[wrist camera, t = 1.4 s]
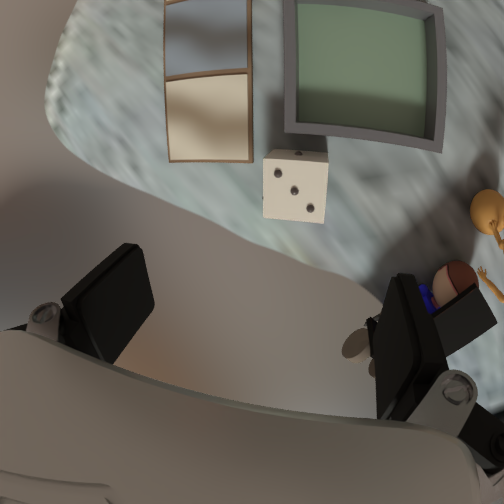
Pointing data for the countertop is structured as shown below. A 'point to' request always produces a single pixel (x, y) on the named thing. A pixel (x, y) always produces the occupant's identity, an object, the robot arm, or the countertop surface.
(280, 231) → the countertop surface
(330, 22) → the tray
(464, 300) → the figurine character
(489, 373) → the countertop surface
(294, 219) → the die
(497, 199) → the figurine
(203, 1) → the track
